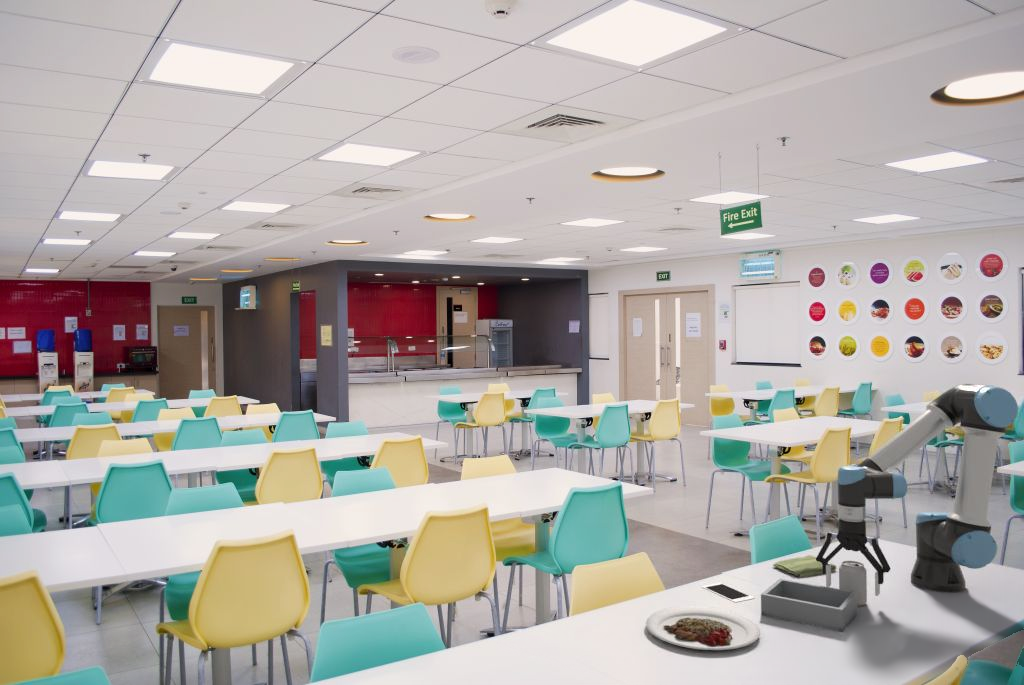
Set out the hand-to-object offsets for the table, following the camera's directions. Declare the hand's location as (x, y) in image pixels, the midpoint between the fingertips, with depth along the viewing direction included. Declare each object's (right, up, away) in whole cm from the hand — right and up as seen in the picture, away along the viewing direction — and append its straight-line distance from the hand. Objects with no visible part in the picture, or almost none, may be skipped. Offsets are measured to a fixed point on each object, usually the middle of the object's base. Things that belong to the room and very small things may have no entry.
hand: (852, 590), depth 223 cm
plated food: (-50, -5, -20) cm, 54 cm away
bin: (-16, -4, -8) cm, 19 cm away
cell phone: (-34, -5, +11) cm, 36 cm away
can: (0, -4, 0) cm, 4 cm away
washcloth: (-1, -4, +33) cm, 33 cm away
